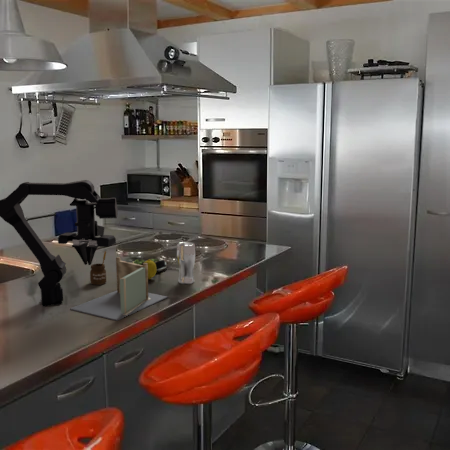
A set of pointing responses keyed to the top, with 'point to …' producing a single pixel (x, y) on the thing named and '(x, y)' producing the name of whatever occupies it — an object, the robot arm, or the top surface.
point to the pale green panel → (132, 289)
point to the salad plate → (160, 264)
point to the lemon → (151, 268)
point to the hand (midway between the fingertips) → (87, 264)
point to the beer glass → (186, 262)
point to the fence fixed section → (127, 268)
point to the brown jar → (98, 273)
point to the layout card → (114, 306)
